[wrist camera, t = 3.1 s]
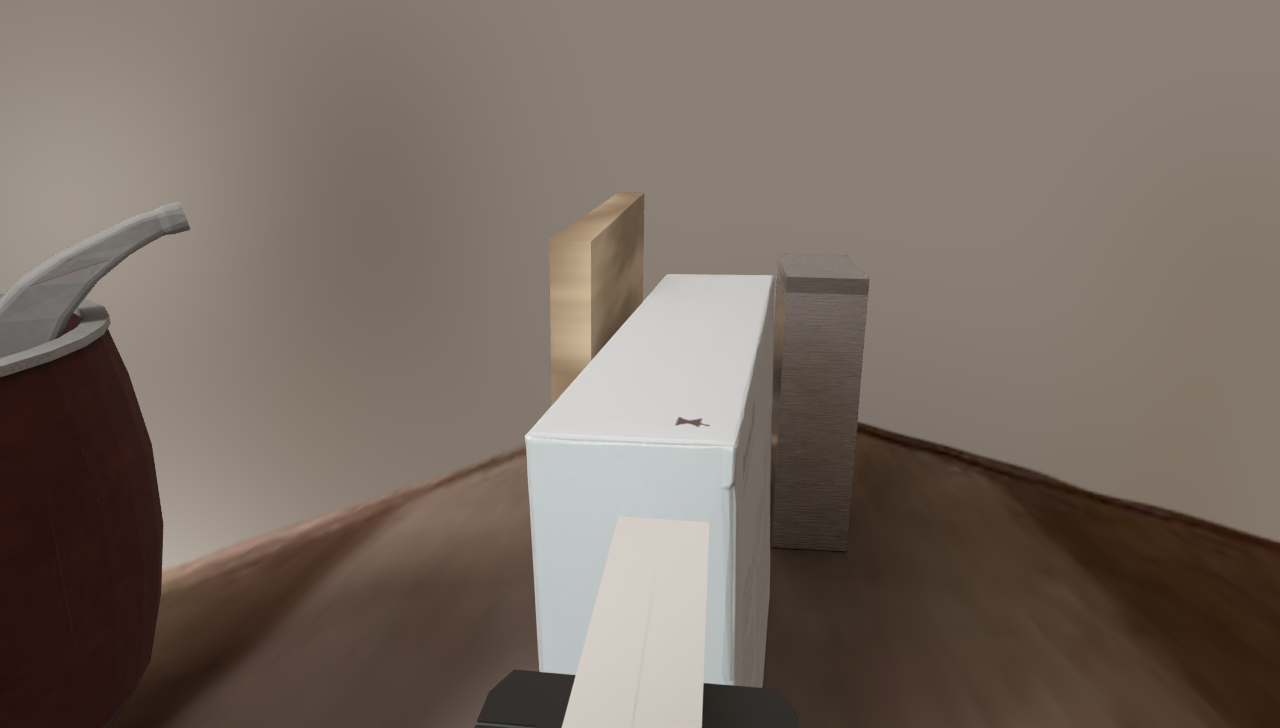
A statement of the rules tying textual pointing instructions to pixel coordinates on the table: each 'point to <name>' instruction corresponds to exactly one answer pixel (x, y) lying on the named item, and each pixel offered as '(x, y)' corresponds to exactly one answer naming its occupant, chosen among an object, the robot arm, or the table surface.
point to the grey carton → (815, 398)
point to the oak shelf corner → (594, 283)
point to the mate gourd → (75, 494)
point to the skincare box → (663, 464)
